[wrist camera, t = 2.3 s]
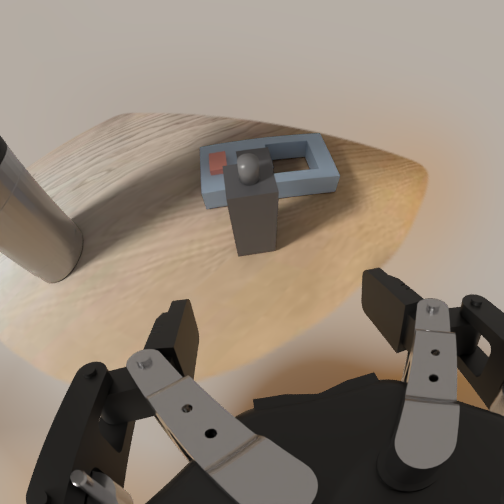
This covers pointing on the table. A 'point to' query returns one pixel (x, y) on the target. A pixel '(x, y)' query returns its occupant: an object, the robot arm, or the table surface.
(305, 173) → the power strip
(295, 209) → the table surface
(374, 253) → the table surface
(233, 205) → the black plug
